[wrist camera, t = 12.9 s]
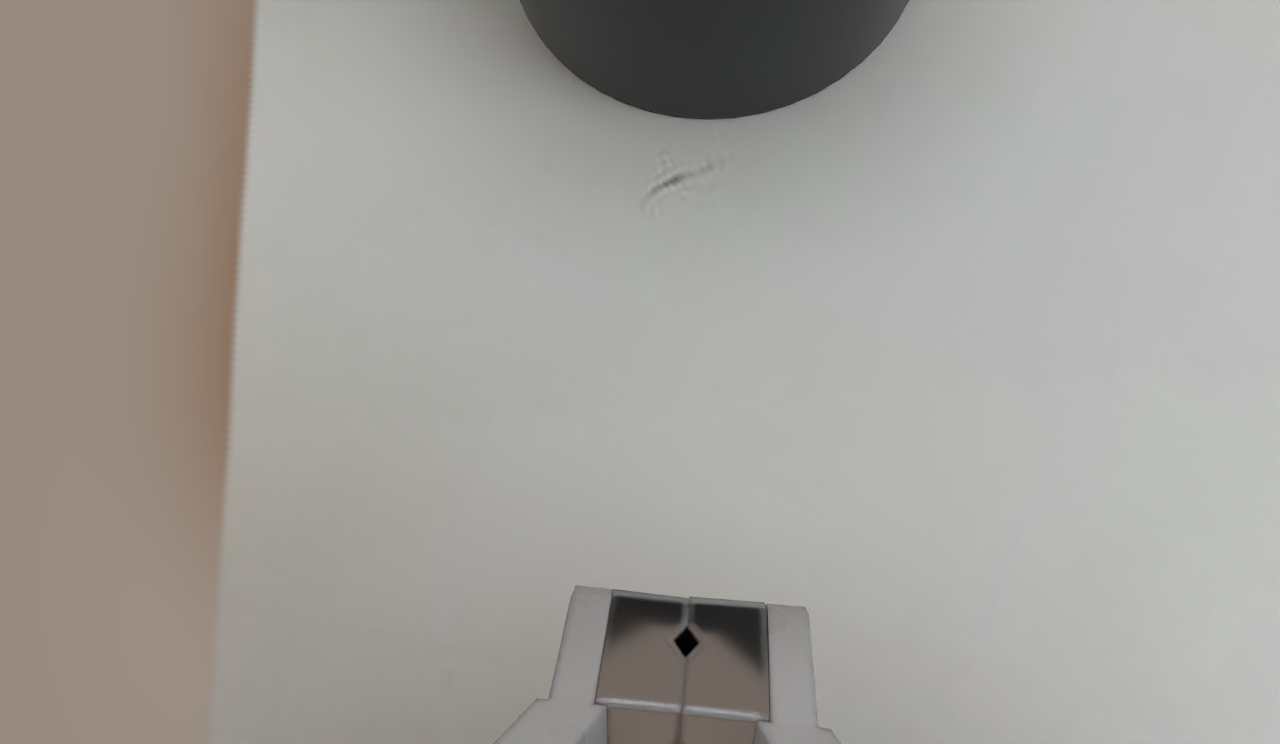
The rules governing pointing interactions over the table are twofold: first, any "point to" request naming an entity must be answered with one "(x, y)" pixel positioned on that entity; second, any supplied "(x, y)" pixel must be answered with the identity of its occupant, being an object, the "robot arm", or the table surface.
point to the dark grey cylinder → (712, 49)
